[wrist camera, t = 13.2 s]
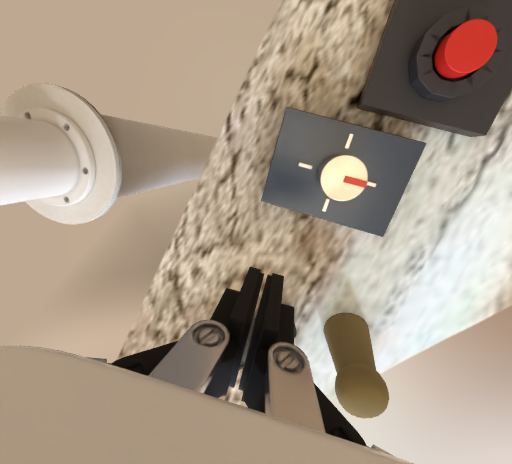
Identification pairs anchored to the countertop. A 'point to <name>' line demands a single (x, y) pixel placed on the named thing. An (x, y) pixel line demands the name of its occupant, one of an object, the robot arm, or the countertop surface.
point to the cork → (355, 366)
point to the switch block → (425, 74)
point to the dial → (342, 177)
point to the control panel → (339, 143)
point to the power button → (465, 49)
